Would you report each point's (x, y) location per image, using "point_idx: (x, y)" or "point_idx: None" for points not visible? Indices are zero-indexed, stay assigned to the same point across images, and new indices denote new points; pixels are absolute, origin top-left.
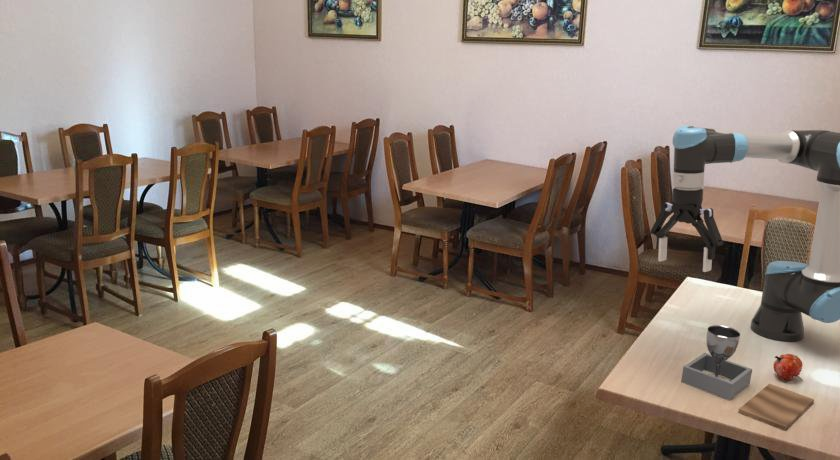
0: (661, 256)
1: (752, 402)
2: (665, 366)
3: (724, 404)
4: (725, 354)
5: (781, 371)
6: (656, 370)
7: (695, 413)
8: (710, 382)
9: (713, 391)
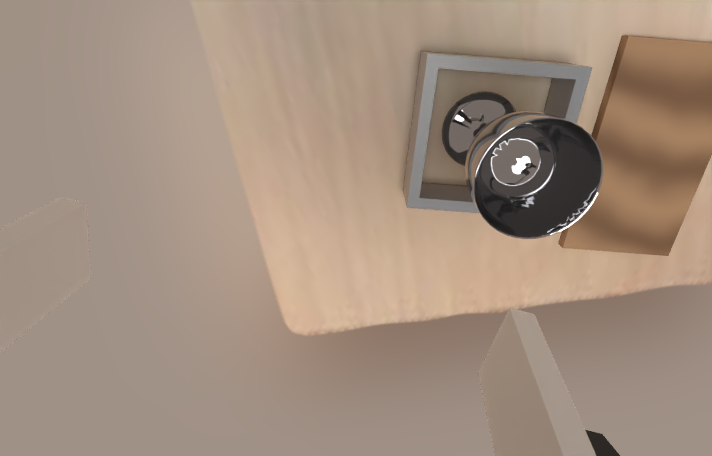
0: (59, 295)
1: None
2: (334, 129)
3: None
4: (535, 195)
5: None
6: (327, 172)
7: (477, 306)
8: None
9: None
